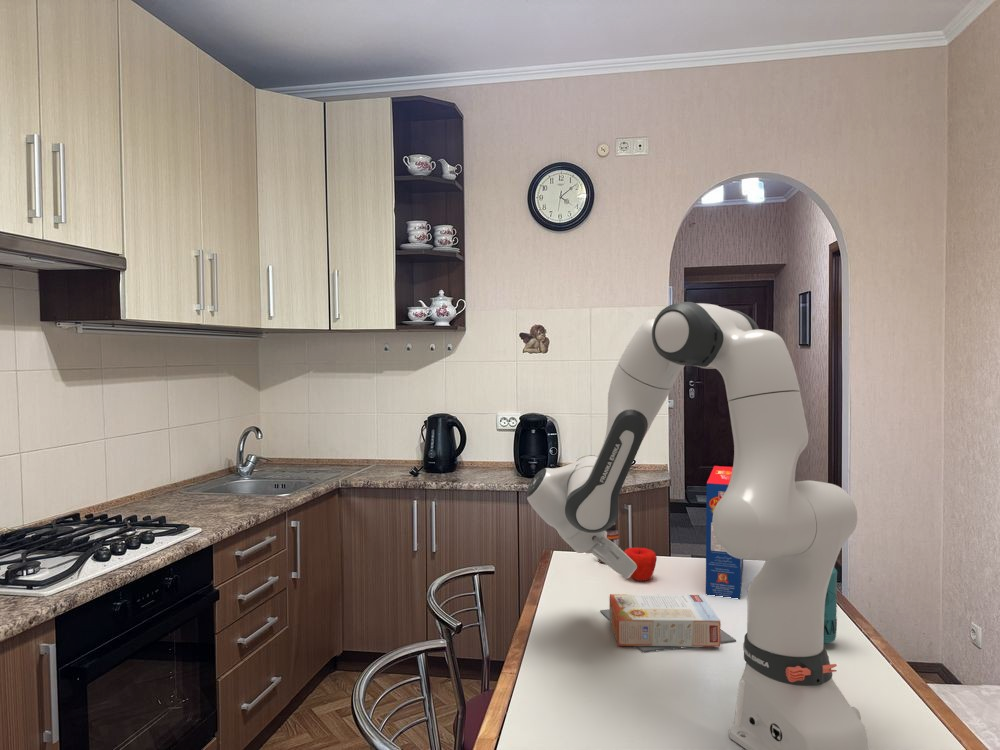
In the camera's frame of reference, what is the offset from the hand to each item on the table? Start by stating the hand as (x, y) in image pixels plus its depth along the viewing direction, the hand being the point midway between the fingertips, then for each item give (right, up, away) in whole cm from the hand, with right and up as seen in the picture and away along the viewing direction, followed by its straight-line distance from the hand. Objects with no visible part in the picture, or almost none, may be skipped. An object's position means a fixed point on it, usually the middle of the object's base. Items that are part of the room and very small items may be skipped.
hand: (628, 573), depth 143 cm
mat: (+8, -12, +3) cm, 15 cm away
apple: (+9, -12, +34) cm, 37 cm away
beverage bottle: (+38, -13, -7) cm, 41 cm away
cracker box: (-4, -9, -2) cm, 10 cm away
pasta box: (+32, -12, +33) cm, 48 cm away
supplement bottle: (+4, -11, +49) cm, 50 cm away
